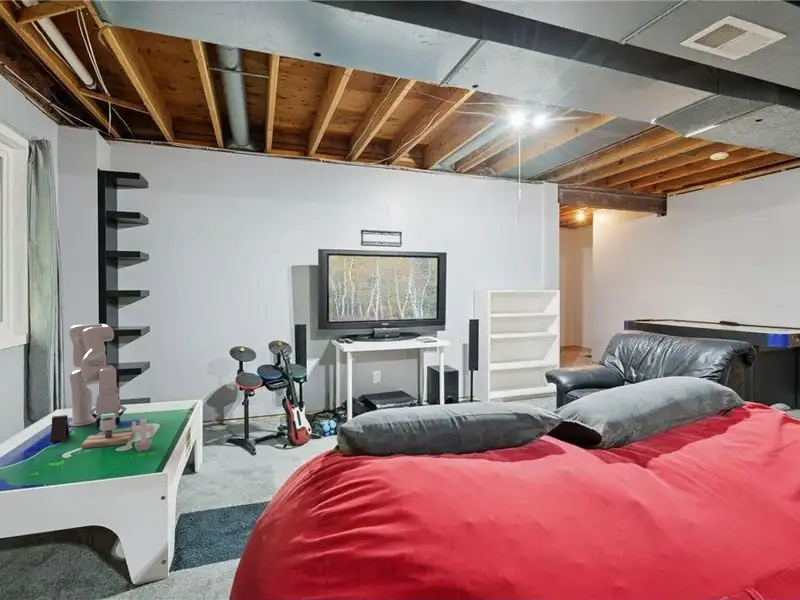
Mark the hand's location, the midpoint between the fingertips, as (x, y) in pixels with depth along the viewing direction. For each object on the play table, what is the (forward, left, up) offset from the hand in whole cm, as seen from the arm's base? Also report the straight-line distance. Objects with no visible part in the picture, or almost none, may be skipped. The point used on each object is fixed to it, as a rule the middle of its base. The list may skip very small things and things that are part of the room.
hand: (108, 425), depth 224 cm
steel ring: (0, 0, -2) cm, 2 cm away
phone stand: (-14, -25, -9) cm, 30 cm away
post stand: (0, 0, -8) cm, 8 cm away
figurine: (+19, +19, -9) cm, 28 cm away
